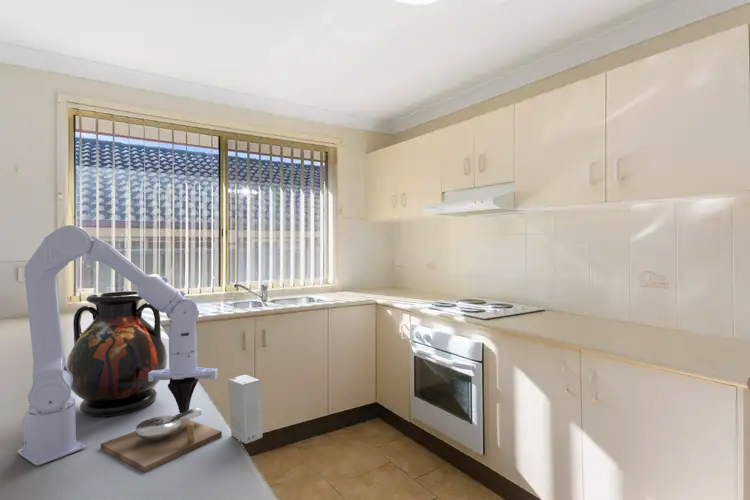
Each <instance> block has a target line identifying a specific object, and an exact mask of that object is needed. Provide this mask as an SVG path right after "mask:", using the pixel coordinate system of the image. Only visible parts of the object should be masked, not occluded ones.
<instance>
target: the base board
mask: <svg viewBox="0 0 750 500" xmlns="http://www.w3.org/2000/svg"><path fill="white" fill-rule="evenodd" d="M222 432H223V431H221V430H219V429H217V428H214V427H211V426H208V425H205V424H203V423H199V422H197V421H194V420H192V419H190V420H187V421H185V422H182V423H181V427H180V428H179V429H178V430H177V431H176V432H174V433H172V434H170V435H167V436H163V437H159V438H153V439H143V438H139V437H137V436H136V430H134V431H130V432H128V433H126V434H123V435H120V436H117V437H115V438H112V439H110V440H107V441H105V442H102V443H100V450H102V451H104V452H106V453H108V454H110V455H111V456H114V457H115V458H117V459H119V460H120V461H123V462H125V463H127V464H129V465H131V466H132V467H134V468H136V469H138V470H140V471H141V472H144V473H146V472H148V471H150V470H153V469H155V468H156V467H158V466H161V465H163V464H165V463H167V462H169V461H171V460H174V459H176V458H179V457H180V456H182V455H184V454H185V455H186V454H187V453H189V452H190V451H194V450H195V449H197V448H200V447H201V446H204V445H206V444H208V443H210V442H212V441H215V440H217V439H218V438H220V437H222V435H223V433H222Z"/></svg>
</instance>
